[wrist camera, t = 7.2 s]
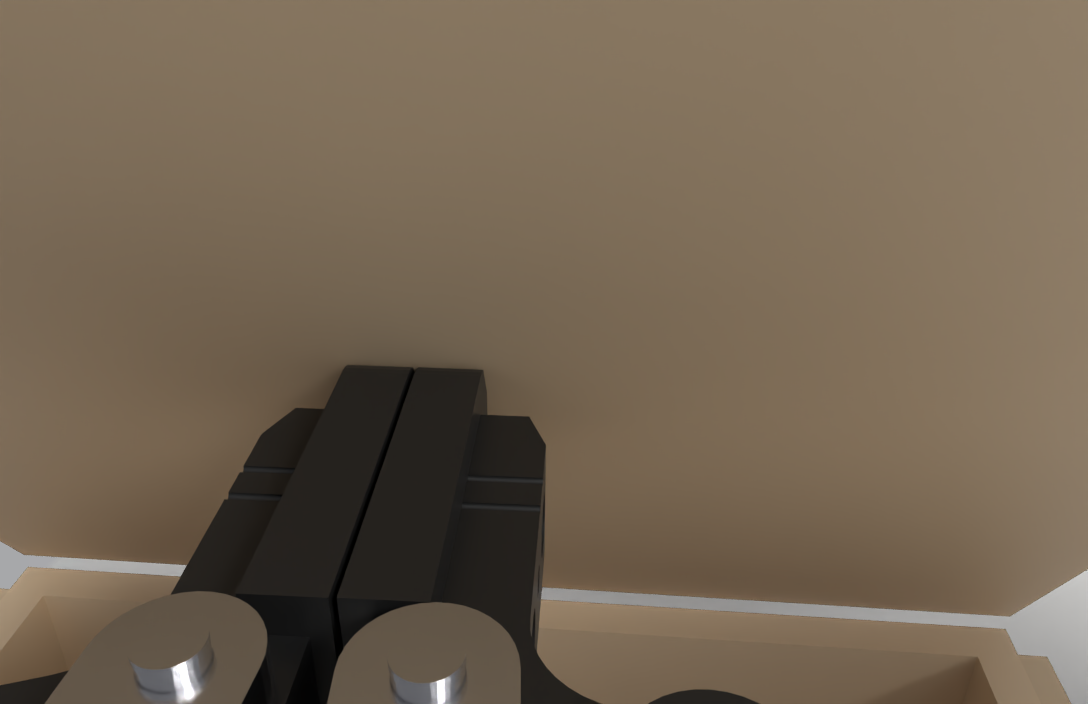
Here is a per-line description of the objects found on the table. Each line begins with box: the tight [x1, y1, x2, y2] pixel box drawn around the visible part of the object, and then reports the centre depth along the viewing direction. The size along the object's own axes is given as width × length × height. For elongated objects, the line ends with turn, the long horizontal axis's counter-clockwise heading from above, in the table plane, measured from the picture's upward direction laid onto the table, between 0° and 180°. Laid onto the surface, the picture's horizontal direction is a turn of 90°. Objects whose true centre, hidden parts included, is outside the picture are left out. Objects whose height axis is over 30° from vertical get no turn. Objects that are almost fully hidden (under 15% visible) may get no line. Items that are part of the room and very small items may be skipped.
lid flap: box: [0, 0, 1088, 616], centre depth 11 cm, size 18×14×1 cm
